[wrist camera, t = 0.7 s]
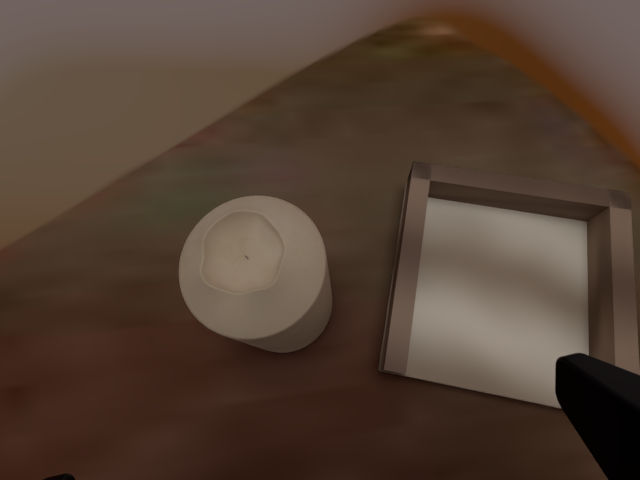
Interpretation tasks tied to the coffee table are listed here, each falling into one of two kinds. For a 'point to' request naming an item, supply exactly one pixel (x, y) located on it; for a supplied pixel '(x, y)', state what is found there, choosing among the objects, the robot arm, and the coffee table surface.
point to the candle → (258, 274)
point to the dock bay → (508, 281)
